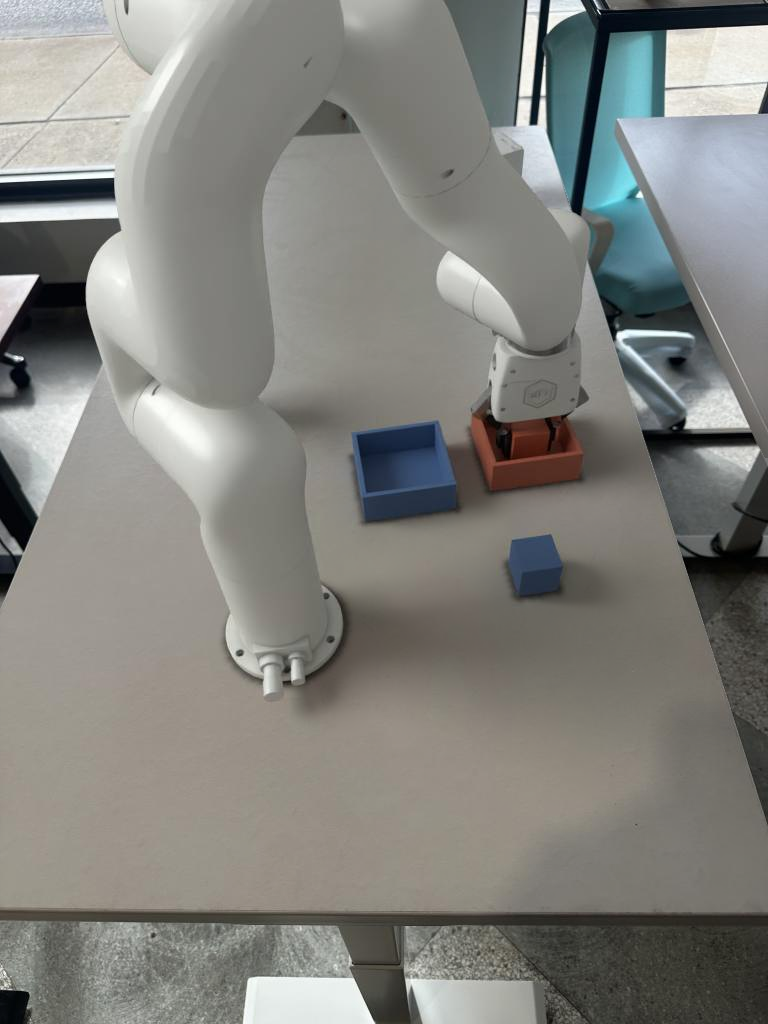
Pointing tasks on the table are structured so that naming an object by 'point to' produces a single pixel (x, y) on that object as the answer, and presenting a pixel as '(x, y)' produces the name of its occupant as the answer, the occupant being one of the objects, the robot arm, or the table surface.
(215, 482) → the robot arm
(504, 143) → the ink box
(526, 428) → the terracotta block
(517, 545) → the blue block
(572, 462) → the terracotta bin
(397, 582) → the table surface
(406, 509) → the blue bin
